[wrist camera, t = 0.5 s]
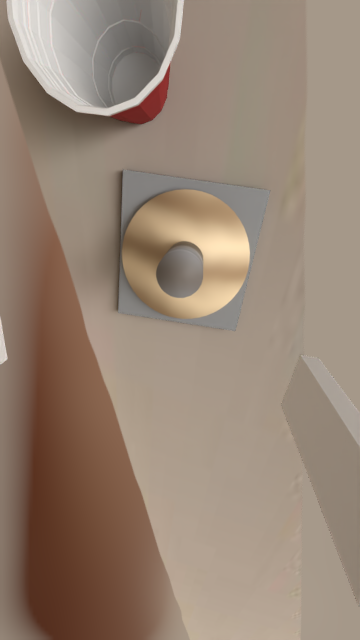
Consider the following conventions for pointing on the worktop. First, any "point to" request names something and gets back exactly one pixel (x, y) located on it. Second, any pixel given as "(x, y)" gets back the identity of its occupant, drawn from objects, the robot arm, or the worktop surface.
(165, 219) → the lid
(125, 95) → the plastic cup
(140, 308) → the mat
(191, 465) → the worktop surface
